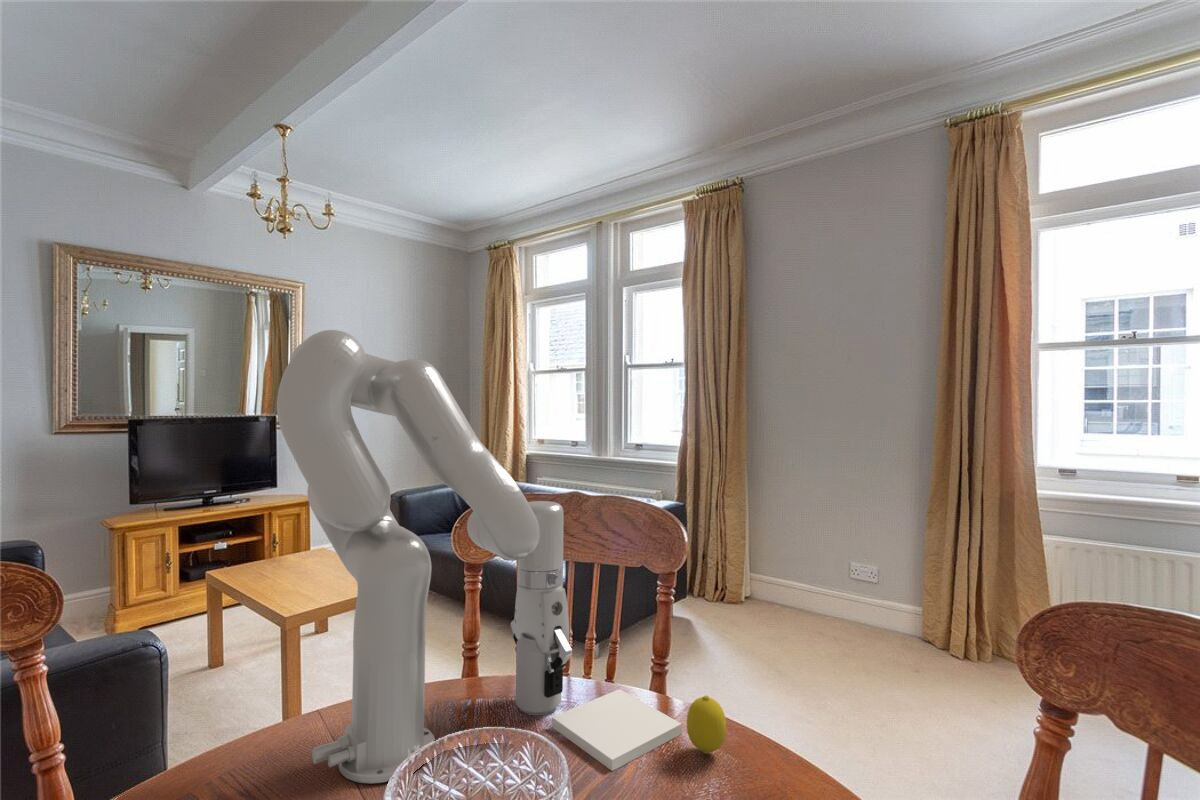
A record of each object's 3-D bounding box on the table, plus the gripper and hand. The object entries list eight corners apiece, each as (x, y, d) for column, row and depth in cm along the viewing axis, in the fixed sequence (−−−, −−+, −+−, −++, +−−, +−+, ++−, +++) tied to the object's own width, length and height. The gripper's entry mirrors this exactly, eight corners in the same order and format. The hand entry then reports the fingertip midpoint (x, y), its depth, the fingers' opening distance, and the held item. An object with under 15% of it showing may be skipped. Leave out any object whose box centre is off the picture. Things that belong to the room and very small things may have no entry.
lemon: (726, 767, 76) (726, 708, 77) (685, 762, 77) (685, 703, 78) (725, 744, 82) (725, 689, 82) (687, 740, 83) (687, 685, 83)
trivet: (612, 771, 75) (612, 759, 75) (551, 726, 86) (552, 716, 86) (681, 733, 84) (681, 723, 84) (619, 698, 95) (619, 689, 95)
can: (565, 697, 95) (566, 625, 96) (554, 720, 88) (555, 642, 88) (523, 692, 97) (524, 622, 97) (509, 715, 89) (510, 639, 90)
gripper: (591, 585, 89) (589, 698, 88) (530, 563, 102) (529, 661, 101) (552, 594, 84) (550, 714, 83) (494, 569, 97) (492, 673, 97)
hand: (539, 684), depth 92 cm, fingers closed on can, 7 cm apart
